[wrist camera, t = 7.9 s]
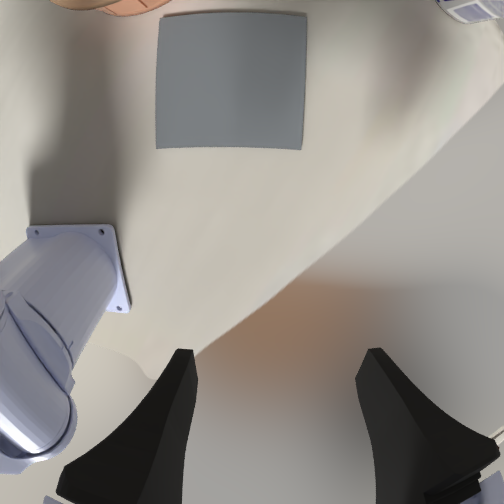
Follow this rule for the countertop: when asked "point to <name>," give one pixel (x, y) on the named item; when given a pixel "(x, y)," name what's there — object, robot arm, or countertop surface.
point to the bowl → (132, 7)
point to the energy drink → (473, 10)
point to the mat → (231, 80)
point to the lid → (84, 4)
